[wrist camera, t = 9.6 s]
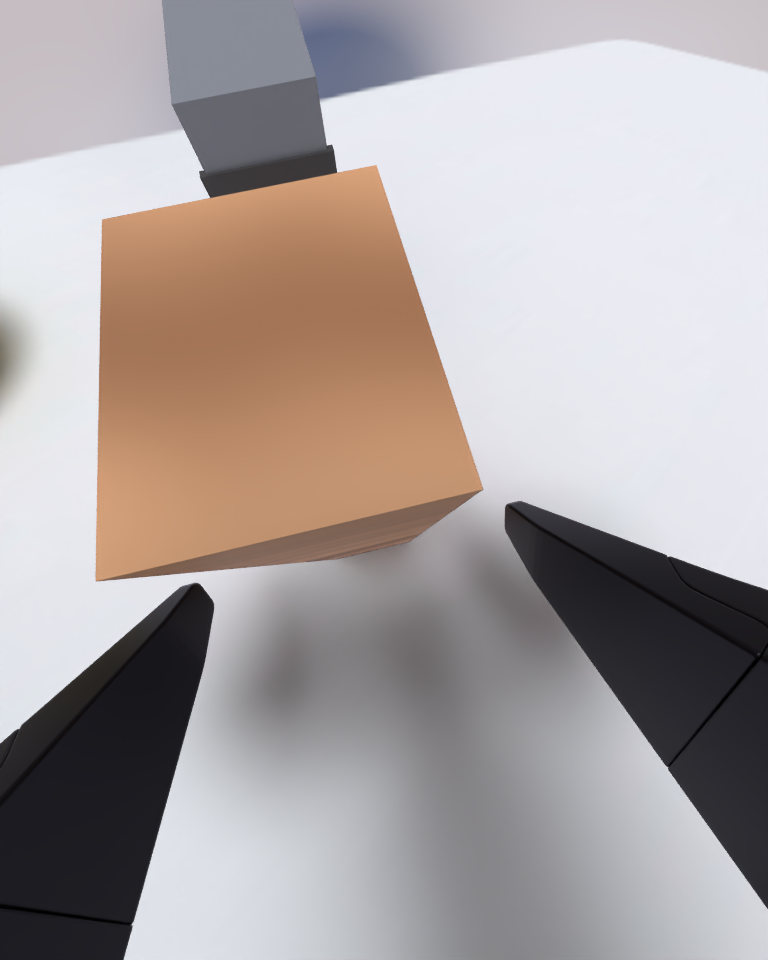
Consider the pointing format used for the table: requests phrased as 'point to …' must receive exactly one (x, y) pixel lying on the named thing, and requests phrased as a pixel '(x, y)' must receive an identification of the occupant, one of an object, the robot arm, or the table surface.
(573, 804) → the table surface
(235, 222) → the wooden post
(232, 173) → the grey flat block
